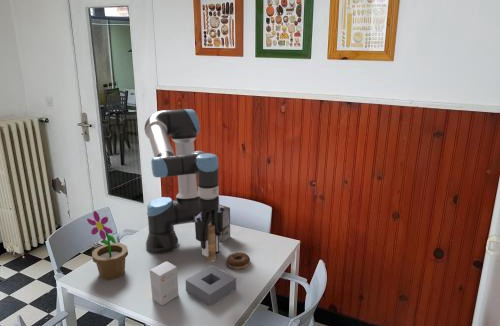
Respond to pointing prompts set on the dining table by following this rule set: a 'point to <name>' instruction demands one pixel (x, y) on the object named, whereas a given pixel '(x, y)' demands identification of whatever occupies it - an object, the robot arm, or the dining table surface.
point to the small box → (164, 282)
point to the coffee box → (225, 224)
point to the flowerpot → (108, 251)
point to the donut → (238, 260)
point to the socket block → (210, 285)
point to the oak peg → (211, 243)
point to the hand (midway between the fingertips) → (210, 252)
